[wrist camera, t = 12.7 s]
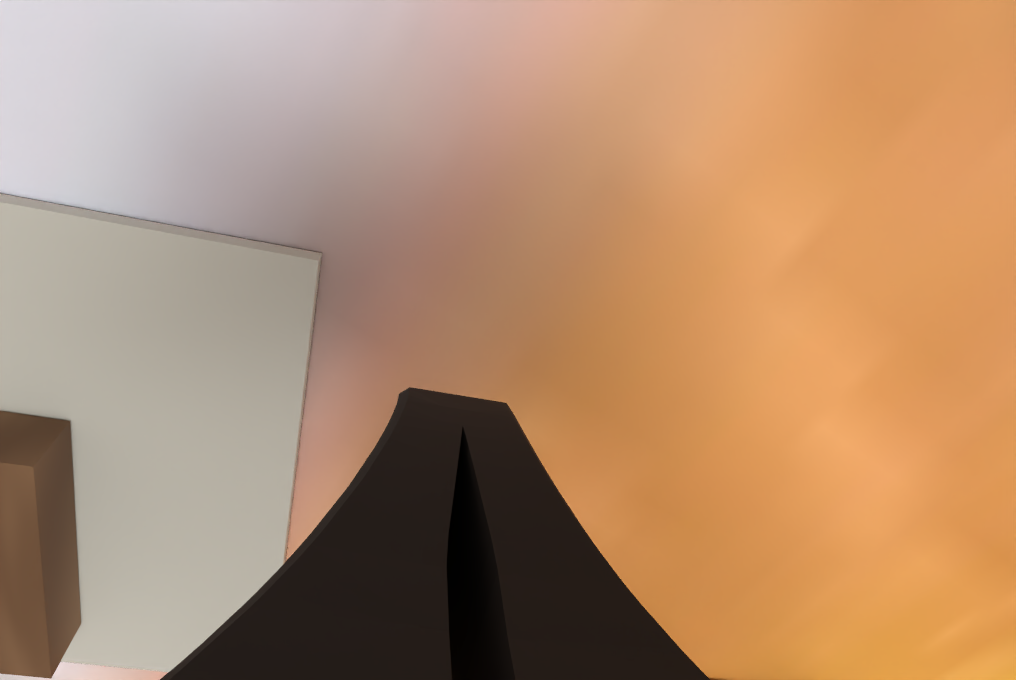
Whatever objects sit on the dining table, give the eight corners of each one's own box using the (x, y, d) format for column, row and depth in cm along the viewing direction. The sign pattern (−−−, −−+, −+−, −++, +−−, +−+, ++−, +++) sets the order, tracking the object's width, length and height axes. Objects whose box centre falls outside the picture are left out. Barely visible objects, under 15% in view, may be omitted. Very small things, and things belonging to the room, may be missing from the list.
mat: (321, 253, 19) (318, 260, 19) (272, 669, 26) (269, 682, 26) (-406, 118, 17) (-430, 123, 16) (-240, 617, 24) (-253, 630, 23)
